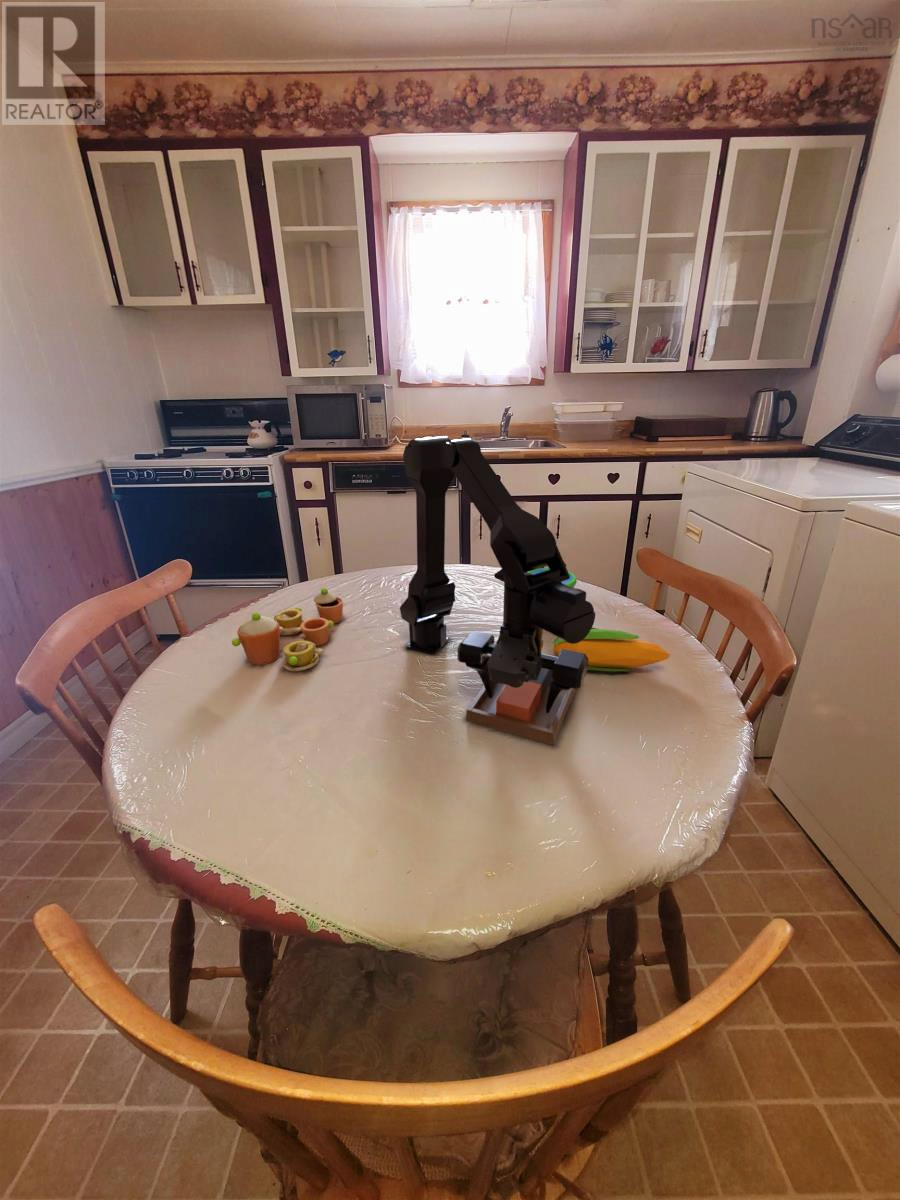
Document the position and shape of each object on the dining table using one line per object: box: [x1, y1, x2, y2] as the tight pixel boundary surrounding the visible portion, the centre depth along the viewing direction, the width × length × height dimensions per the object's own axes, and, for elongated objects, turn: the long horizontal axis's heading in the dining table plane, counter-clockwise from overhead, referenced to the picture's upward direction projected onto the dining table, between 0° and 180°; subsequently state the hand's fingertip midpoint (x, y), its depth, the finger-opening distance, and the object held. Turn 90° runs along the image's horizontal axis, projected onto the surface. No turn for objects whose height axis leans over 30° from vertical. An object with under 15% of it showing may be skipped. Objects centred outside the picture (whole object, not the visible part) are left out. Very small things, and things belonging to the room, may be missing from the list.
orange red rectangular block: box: [496, 681, 541, 723], centre depth 75 cm, size 5×7×3 cm
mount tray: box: [466, 670, 577, 746], centre depth 79 cm, size 14×17×2 cm
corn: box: [552, 627, 671, 672], centre depth 86 cm, size 7×8×20 cm
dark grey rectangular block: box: [529, 668, 552, 701], centre depth 81 cm, size 5×7×3 cm
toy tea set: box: [231, 587, 344, 672], centre depth 97 cm, size 26×16×10 cm, turn 173°
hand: (519, 704), depth 75 cm, fingers open, 9 cm apart
